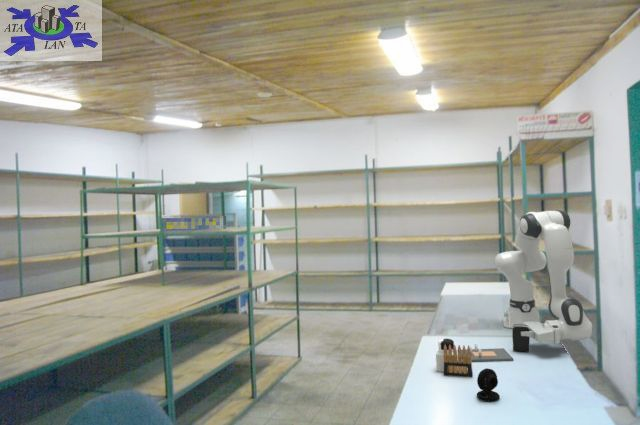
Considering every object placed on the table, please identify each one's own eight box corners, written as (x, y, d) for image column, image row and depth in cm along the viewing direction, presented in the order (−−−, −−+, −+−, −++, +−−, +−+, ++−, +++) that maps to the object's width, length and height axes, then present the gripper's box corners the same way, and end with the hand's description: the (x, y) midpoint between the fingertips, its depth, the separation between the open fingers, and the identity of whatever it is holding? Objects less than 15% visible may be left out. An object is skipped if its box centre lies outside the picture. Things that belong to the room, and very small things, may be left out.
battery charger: (529, 348, 221) (528, 323, 219) (529, 352, 217) (529, 327, 215) (512, 347, 223) (511, 322, 221) (512, 351, 219) (512, 326, 218)
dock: (457, 351, 223) (457, 342, 223) (503, 350, 221) (503, 341, 221) (463, 362, 209) (463, 352, 209) (513, 360, 207) (512, 351, 207)
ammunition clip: (472, 375, 194) (471, 344, 193) (472, 377, 192) (471, 346, 192) (444, 373, 197) (442, 343, 197) (443, 375, 196) (442, 344, 195)
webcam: (486, 404, 167) (485, 374, 167) (471, 396, 174) (470, 367, 174) (504, 399, 170) (503, 369, 170) (489, 391, 177) (487, 363, 177)
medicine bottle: (457, 367, 204) (456, 337, 203) (454, 373, 197) (453, 342, 197) (440, 365, 207) (438, 336, 206) (436, 371, 200) (435, 341, 200)
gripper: (542, 317, 228) (511, 318, 229) (560, 329, 207) (525, 330, 209) (543, 331, 228) (511, 332, 229) (561, 344, 208) (526, 345, 209)
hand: (518, 331), depth 219 cm, fingers closed on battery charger, 4 cm apart
